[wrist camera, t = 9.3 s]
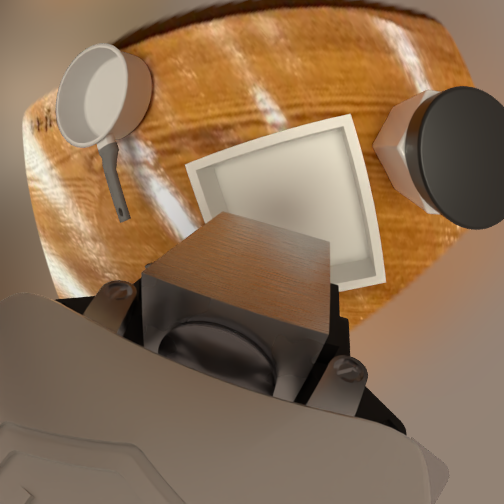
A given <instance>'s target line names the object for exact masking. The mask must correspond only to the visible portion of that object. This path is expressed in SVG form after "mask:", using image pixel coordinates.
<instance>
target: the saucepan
mask: <svg viewBox="0 0 504 504" xmlns="http://www.w3.org/2000/svg"><path fill="white" fill-rule="evenodd" d="M151 92H152V80H151V75H150V72H149V69H148V67H147V65H146V64H145V63H144V61H143V60H141V59H140V58H139V57H137V56H134V55H132V54H128V53H125V52H122V51H119V50H118V49H117V48H116V47H115V46H113V45H110V44H103V43H100V44H97V45H93V46H91V47H89V48H87V49H85V50H84V51H82V52H81V53H80V54H79V55H78V56H77V57H76V58H75V59H74V60H73V61H72V63H71V64H70V65H69V67H68V68H67V70H66V72H65V74H64V76H63V78H62V80H61V83H60V86H59V89H58V93H57V99H56V118H57V123H58V127H59V130H60V132H61V134H62V136H63V137H64V138H65V139H66V141H67V142H69V143H70V144H71V145H73V146H76V147H81V148H85V147H89V146H92V145H94V144H96V143H97V147H98V151H99V154H100V156H101V158H102V163H103V169H104V173H105V176H106V180H107V183H108V187H109V190H110V193H111V196H112V199H113V202H114V205H115V208H116V211H117V214H118V217H119V220H120V223H121V222H123V221H126V220H128V219H131V217H130V214H129V211H128V208H127V205H126V202H125V198H124V195H123V192H122V188H121V185H120V181H119V178H118V174H117V171H116V166H117V156H118V151H119V148H118V145H117V142H116V141H115V140H119V139H121V138H123V137H125V136H127V135H128V134H129V133H131V132H132V131H133V130H134V129H135V128H136V127H137V126H138V124H139V123H140V121H141V120H142V119H143V117H144V115H145V113H146V111H147V108H148V105H149V102H150V98H151Z"/></svg>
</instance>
